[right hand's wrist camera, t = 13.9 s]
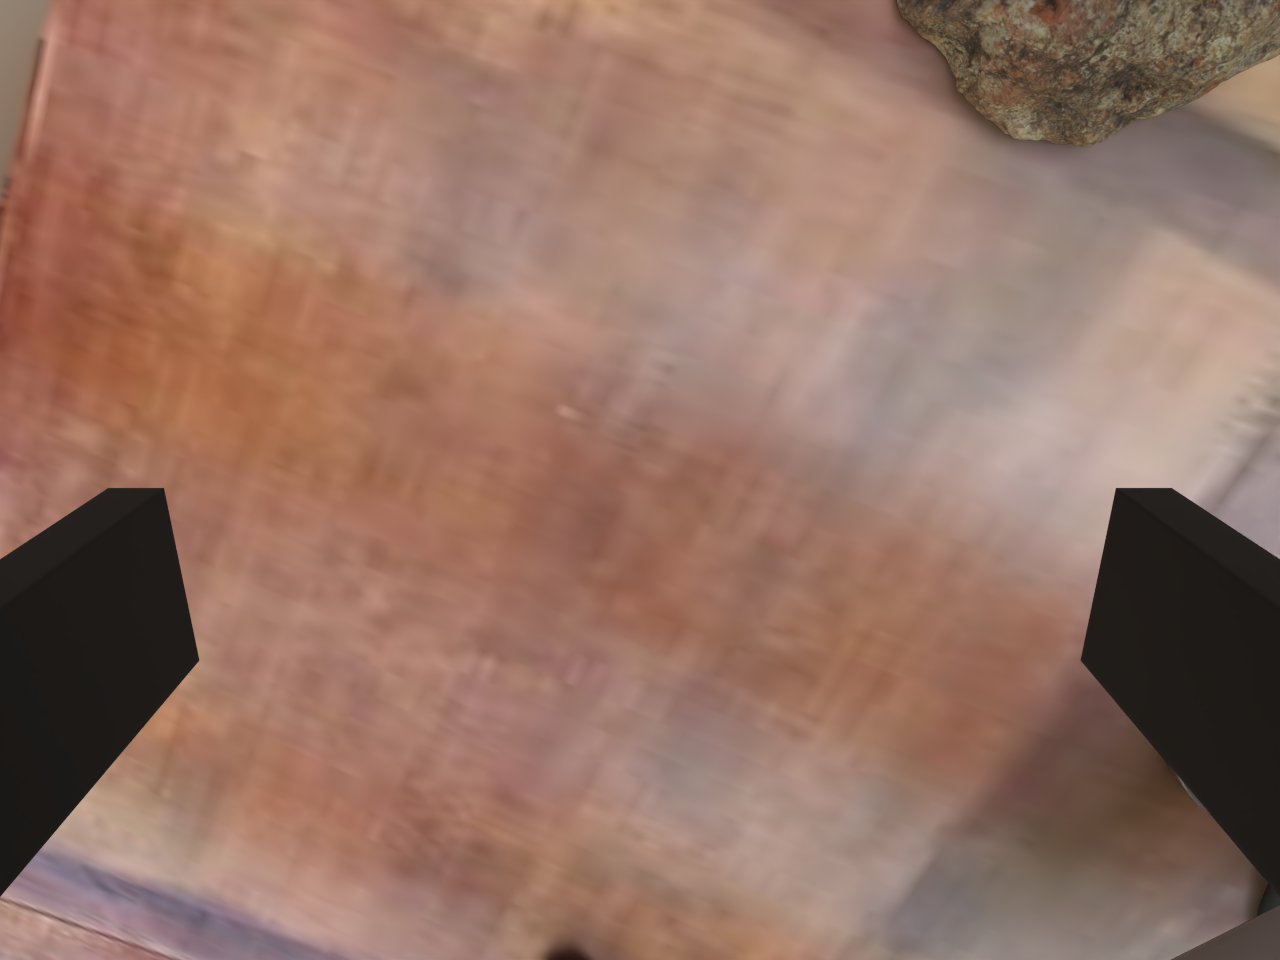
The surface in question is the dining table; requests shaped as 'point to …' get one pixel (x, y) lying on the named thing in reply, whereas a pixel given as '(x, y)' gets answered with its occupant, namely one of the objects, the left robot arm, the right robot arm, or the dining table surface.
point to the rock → (1092, 57)
